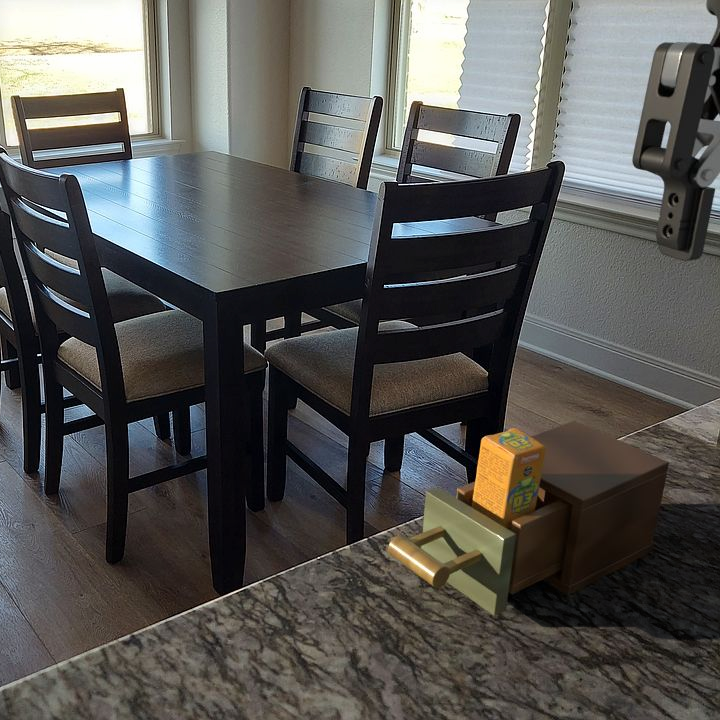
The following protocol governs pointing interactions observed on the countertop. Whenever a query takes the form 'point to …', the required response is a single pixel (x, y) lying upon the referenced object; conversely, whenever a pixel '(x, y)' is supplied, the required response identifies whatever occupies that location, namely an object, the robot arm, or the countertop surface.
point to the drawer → (485, 546)
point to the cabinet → (601, 501)
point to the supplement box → (508, 476)
